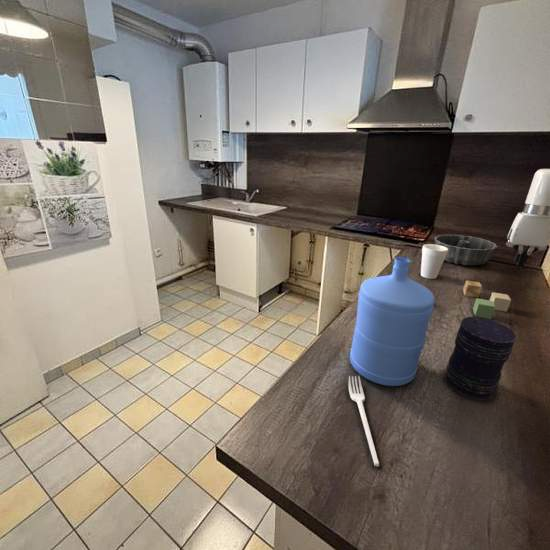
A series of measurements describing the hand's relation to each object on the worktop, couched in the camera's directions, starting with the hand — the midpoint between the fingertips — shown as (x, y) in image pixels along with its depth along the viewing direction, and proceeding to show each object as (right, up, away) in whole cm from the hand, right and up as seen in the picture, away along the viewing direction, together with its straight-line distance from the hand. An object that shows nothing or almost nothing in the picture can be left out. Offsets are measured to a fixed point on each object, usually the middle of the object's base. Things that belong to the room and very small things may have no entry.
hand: (518, 264), depth 99 cm
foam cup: (-16, -4, +28) cm, 32 cm away
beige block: (-5, -15, +2) cm, 16 cm away
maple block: (-9, -11, +12) cm, 18 cm away
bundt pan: (+10, +4, +48) cm, 49 cm away
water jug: (-57, -26, -26) cm, 68 cm away
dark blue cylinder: (-38, -29, -32) cm, 58 cm away
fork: (-66, -33, -41) cm, 84 cm away
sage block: (-14, -17, -2) cm, 22 cm away
